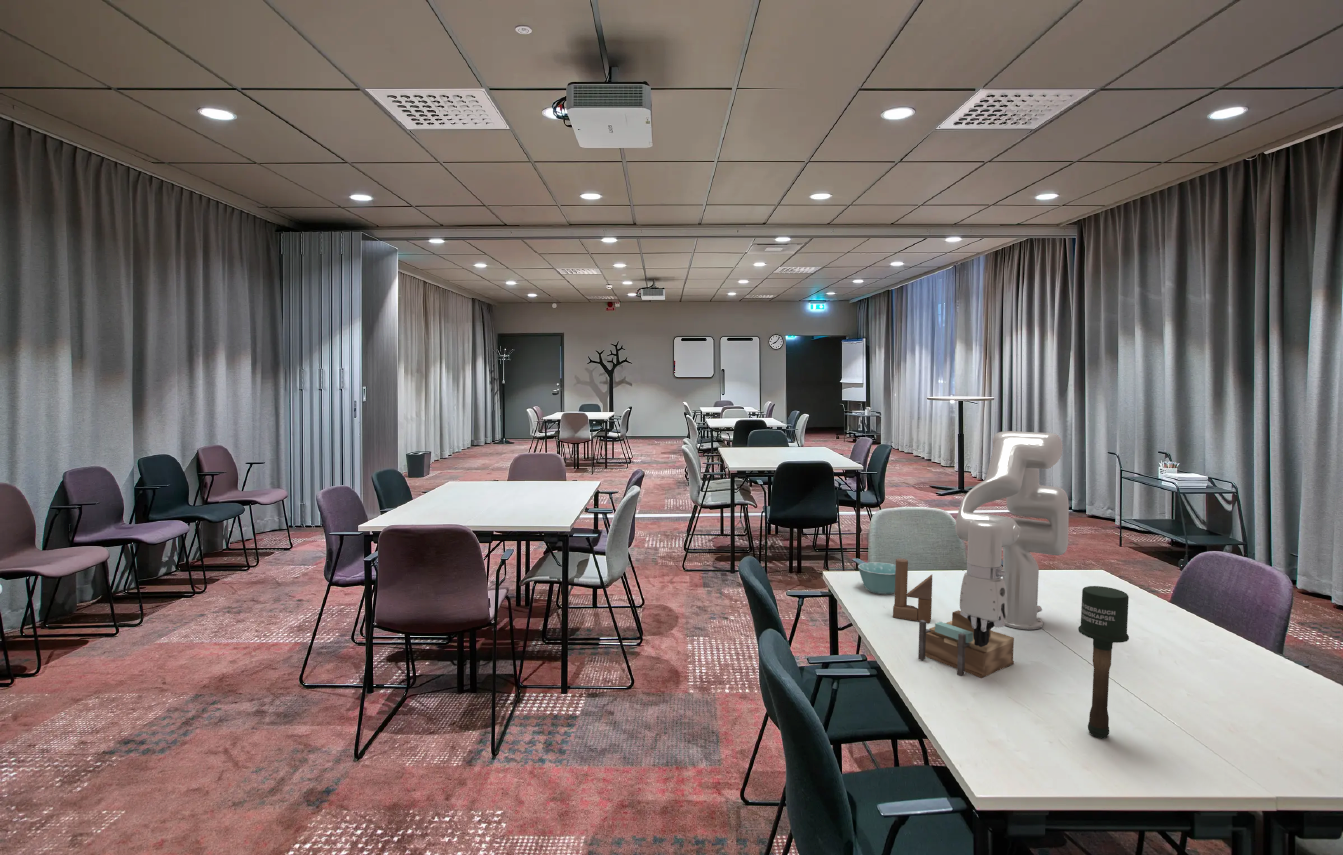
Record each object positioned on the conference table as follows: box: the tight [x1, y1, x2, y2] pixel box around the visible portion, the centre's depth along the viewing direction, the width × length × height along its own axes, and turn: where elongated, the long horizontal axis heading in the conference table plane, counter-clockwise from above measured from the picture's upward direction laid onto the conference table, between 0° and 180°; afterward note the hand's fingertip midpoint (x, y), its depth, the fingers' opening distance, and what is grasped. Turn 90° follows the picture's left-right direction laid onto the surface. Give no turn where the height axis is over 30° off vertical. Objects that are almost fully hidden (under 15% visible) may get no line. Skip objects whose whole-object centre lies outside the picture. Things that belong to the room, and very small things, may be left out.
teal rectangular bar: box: [934, 621, 973, 643], centre depth 168 cm, size 2×9×2 cm, turn 35°
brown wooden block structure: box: [892, 557, 933, 624], centre depth 202 cm, size 4×11×18 cm, turn 64°
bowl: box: [857, 561, 896, 596], centre depth 230 cm, size 16×16×8 cm
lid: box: [928, 609, 1015, 652], centre depth 172 cm, size 15×16×7 cm
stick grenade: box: [1077, 585, 1130, 739], centre depth 135 cm, size 8×9×30 cm
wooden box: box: [917, 620, 1015, 679], centre depth 171 cm, size 18×16×10 cm
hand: (981, 644), depth 162 cm, fingers closed
